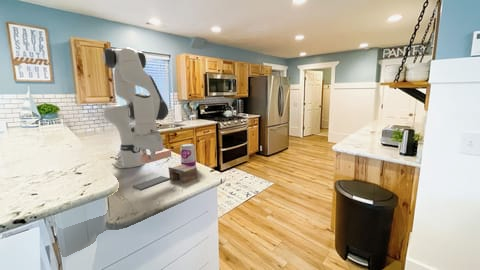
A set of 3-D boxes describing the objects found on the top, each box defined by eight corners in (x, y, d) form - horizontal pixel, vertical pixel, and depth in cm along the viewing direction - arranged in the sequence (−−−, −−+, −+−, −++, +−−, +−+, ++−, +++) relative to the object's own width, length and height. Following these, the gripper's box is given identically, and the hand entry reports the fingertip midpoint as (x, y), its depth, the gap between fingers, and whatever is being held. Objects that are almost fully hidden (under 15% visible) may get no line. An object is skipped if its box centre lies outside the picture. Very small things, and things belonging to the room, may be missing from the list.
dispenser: (169, 179, 112) (168, 167, 111) (183, 174, 119) (182, 162, 118) (183, 183, 105) (182, 170, 104) (197, 177, 113) (196, 165, 112)
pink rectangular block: (141, 162, 101) (140, 154, 101) (166, 155, 112) (166, 148, 112) (146, 163, 99) (145, 156, 98) (171, 156, 110) (170, 149, 110)
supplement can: (192, 172, 122) (191, 146, 119) (179, 171, 123) (177, 146, 121) (198, 167, 129) (196, 143, 127) (185, 167, 131) (183, 143, 129)
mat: (132, 187, 103) (132, 185, 103) (161, 176, 116) (161, 175, 116) (140, 190, 99) (140, 189, 99) (169, 179, 112) (169, 178, 112)
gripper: (166, 130, 96) (168, 159, 99) (140, 126, 108) (143, 153, 110) (153, 132, 91) (156, 163, 94) (128, 128, 103) (131, 156, 105)
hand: (148, 157), depth 102 cm, fingers closed on pink rectangular block, 4 cm apart
